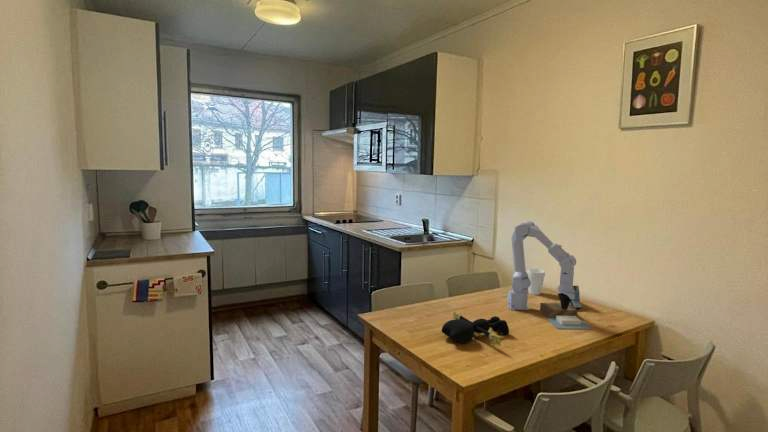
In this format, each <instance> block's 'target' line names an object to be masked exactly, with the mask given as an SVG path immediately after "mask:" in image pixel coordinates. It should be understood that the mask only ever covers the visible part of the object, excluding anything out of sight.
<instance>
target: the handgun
mask: <svg viewBox="0 0 768 432" xmlns="http://www.w3.org/2000/svg"><path fill="white" fill-rule="evenodd" d="M572 290H574V291H575V292H573V293H574V295H575V299H572V300H571V301H570V303H569V304H570V305H571V306H572V307H574V308H575V309H576V310H579V309H582V308H583V305H582V303H581V299H580V298H581V297H580V287H579V285H573V289H572Z"/></svg>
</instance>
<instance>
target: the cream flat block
mask: <svg viewBox="0 0 768 432" xmlns="http://www.w3.org/2000/svg"><path fill="white" fill-rule="evenodd" d="M579 318H580V317H578V316H577V317H576V316H556V320H557V321H558V322H559V323H560V324H561V325H581V320H582V319H581V318H580V319H581V320H580V319H579Z"/></svg>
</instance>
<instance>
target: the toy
mask: <svg viewBox="0 0 768 432" xmlns="http://www.w3.org/2000/svg"><path fill="white" fill-rule="evenodd" d="M452 316H453V317H452V319H450V320H447V321H446V322H445V323H444V324H443V325H442V327H441V333H443V334H444V335H446V336H447V337H448V338H450V339H451V340H452V341H454V342H456V343H460V344H465V343H469V342H471V341H472V340H473V339H474V336H475V335H477V337H481V338H482V337H483V334H484V335H485V336H486V337H488V338H489V340H490V343H491V345H492V346H493V347H496V345H497V346H498V347H499V346H501V343H502V340H501V339H502V337H501V336H500V335H498V334H496V333H494V332H489V330H490V329H492V330H493V331H498V333H499V334H501V335H504V336H506V335H509V333H510V329H509V326H508V322H507V321H506V320H504V319H501V318H500V317H499V316H496V315H495V316H492V317H490V319H485V318H478V319H476V320H475V319H474V320H473V321H471V320H470V319H467V318H466V317H465V316H463V315H462V314H461V313H460V312H458V311H456V310H453V313H452Z"/></svg>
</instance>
